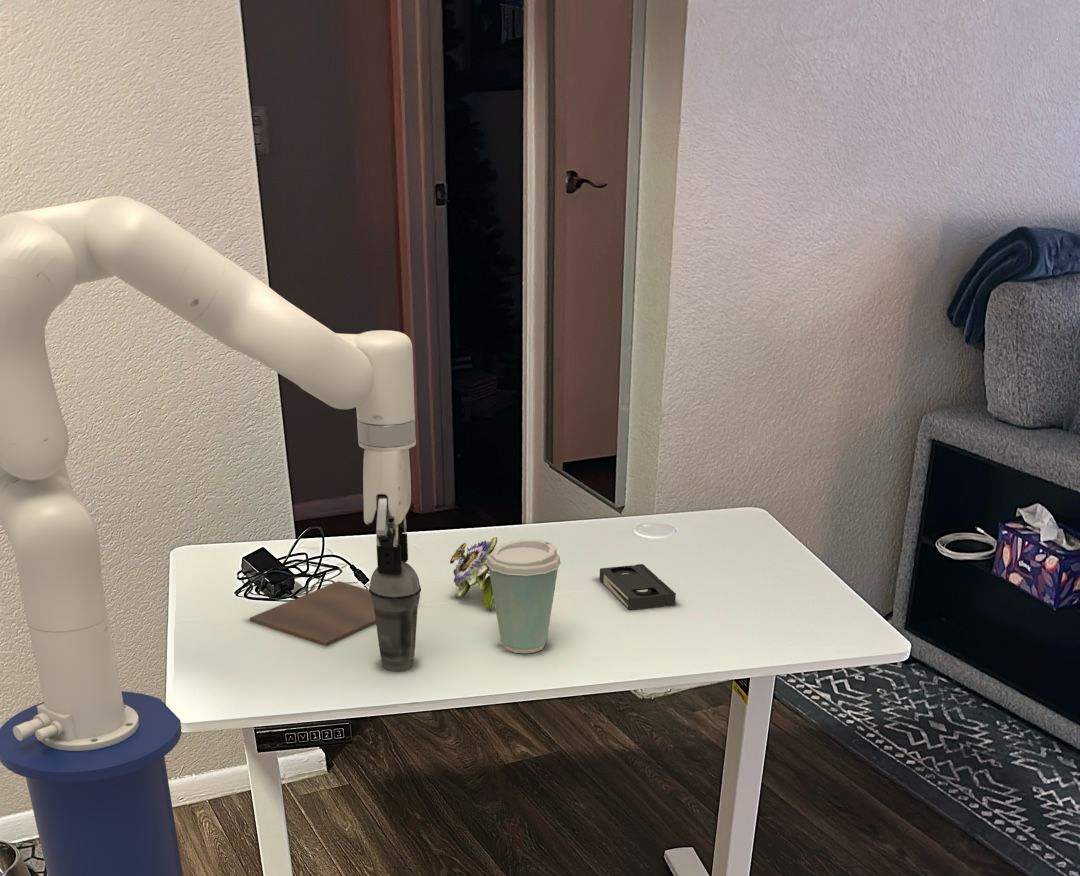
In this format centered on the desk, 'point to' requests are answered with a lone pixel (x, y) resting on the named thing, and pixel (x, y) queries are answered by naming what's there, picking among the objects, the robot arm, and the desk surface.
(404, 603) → the beverage cup
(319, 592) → the walnut board
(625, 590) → the vhs tape
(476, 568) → the passion flower
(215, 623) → the desk surface
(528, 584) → the disposable coffee cup
